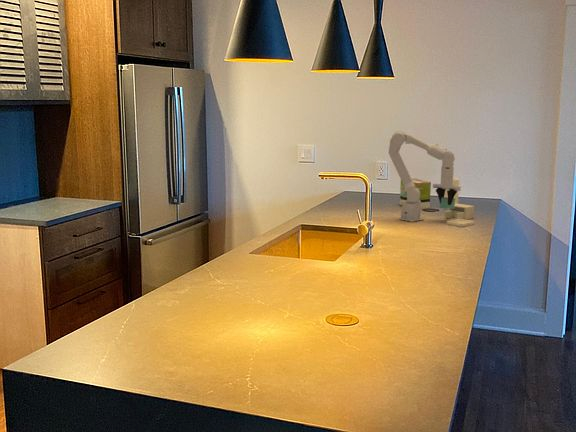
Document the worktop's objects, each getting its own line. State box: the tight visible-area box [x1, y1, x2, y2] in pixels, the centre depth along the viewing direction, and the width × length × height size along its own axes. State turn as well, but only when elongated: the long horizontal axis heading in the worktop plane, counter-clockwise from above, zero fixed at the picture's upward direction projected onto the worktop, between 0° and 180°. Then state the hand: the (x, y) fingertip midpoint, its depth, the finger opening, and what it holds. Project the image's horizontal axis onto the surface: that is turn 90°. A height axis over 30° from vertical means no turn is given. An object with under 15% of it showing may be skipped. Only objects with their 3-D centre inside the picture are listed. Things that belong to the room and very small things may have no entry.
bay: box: [443, 203, 475, 220], centre depth 327 cm, size 12×10×6 cm
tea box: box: [399, 178, 432, 210], centre depth 357 cm, size 15×10×15 cm, turn 25°
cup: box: [444, 177, 460, 209], centre depth 356 cm, size 8×8×16 cm
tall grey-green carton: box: [439, 197, 455, 210], centre depth 319 cm, size 6×4×5 cm, turn 133°
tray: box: [445, 218, 475, 228], centre depth 312 cm, size 11×9×2 cm
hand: (445, 204), depth 317 cm, fingers closed on tall grey-green carton, 4 cm apart
